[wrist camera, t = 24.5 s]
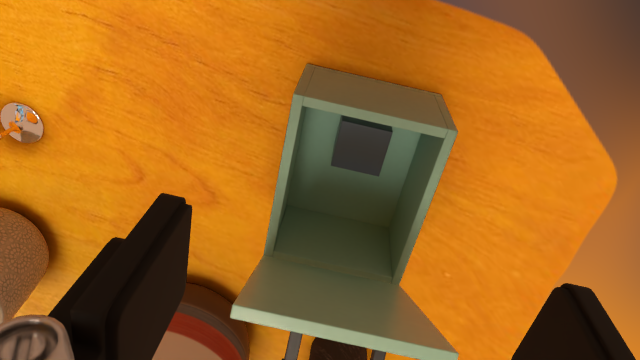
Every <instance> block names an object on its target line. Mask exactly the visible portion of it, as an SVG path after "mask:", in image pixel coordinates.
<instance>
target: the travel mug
mask: <svg viewBox="0 0 640 360" xmlns="http://www.w3.org/2000/svg"><path fill="white" fill-rule="evenodd" d="M309 360H367V351H366V348H365V347H360V346H356V345H351V344H347V343H342V342H337V341H333V340H328V339H324V338H319V337H317V338H316V339H315V340H314V341H313V344H312V347H311V352H310V357H309Z"/></svg>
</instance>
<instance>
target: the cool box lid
mask: <svg viewBox="0 0 640 360" xmlns="http://www.w3.org/2000/svg"><path fill="white" fill-rule="evenodd" d="M230 318H232V319H236V320H241V321H246V322H250V323H255V324H259V325H264V326H269V327H273V328H278V329H282V330H287V331H291V332H290V336H289V340H288V345H287V349H286V354H285V358H284V359H283V358H282V360H297V357H298V352H299V348H300V343H301V339H302V335H303V334H305V335H310V336H314V337H319V338H324V339H328V340H333V341H337V342H342V343H347V344H351V345H356V346H360V347H365V348H370V349H372V354H371V358H370V360H384V359H385V355H386V352H388V353H393V354H397V355H402V356H406V357H411V358H416V359H420V360H457V359H458V352H457V351H456V350H455V349H454V348H453V347H452V345H451V344H450V343H449V342H448V341H447V340H446V339H445V337H444V336H443V335H442V334H441V333H440V332H439V330H438V329H437V328H436V327H435V326H434V325H433V323H432V322H431V321H430V320H429V319H428V318H427V317H426V315H425V314H424V313H423V312H422V311H421V310H420V308H419V307H418V306H417V305H416V304H415V303H414V302H413V300H412V299H411V298H410V297H409V296H408V295H407V293H406V292H405V291H404V290H403V289H402V288H401V286H399V285H395V284H391V283H386V282H382V281H377V280H373V279H368V278H364V277H359V276H355V275H350V274H346V273H341V272H337V271H332V270H328V269H323V268H319V267H314V266H309V265H305V264H300V263H296V262H291V261H287V260H282V259H278V258H273V257H269V256H263V257H262V259H261V260H260V262H259V263H258V265H257V267H256V268H255V270H254V271H253V273H252V275H251V276H250V278H249V279H248V281H247V283H246V284H245V286H244V287H243V289H242V291H241V292H240V294H239V295H238V297H237V299H236V300H235V302H234V303H233V305H232V309H231V314H230Z"/></svg>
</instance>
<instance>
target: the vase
mask: <svg viewBox="0 0 640 360" xmlns="http://www.w3.org/2000/svg"><path fill="white" fill-rule="evenodd" d="M231 309H232V304H231V303H230V302H229V301H227V300H226V299H225V298H223V297H222V296H221V295H219V294H217V293H216V292H214V291H212V290H210V289H207V288H205V287H202V286H199V285H195V284H191V283H186V288H185V292H184V295H183V298H182V300H181V302H180V304H179V306H178V308H177V310H176V312H175V314H174V316H173V318H172V320H171V322H170V324H169V326H168V328H167V330H166V332H165V334H164V336H163V338H162V340H161V342H160V344H159V346H158V348H157V350H156V352H155V354H154V356H153V358H152V360H249V338H248V333H247V329H246V326H245V323H244V321H241V320H236V319H232V318H230V314H231Z"/></svg>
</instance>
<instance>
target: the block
mask: <svg viewBox="0 0 640 360" xmlns="http://www.w3.org/2000/svg"><path fill="white" fill-rule="evenodd" d="M392 133H393V131H392V126H388V125H383V124H379V123H375V122H370V121H366V120H362V119H357V118H353V117H348V116H344V115H341V118H340V122H339V126H338V130H337V134H336V138H335V142H334V147H333V154H332V160H331V166H334V167H338V168H343V169H347V170H352V171H356V172H360V173H365V174H369V175H374V176H378V177H379V175H380V172H381V169H382V165H383V162H384V159H385V156H386V152H387V149H388V146H389V143H390V140H391V136H392Z"/></svg>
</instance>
